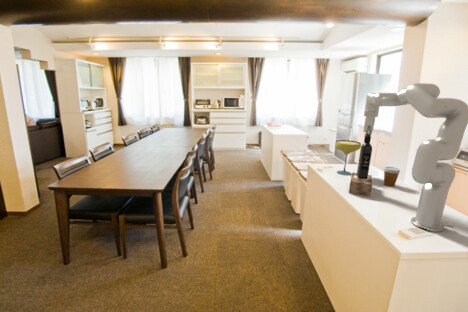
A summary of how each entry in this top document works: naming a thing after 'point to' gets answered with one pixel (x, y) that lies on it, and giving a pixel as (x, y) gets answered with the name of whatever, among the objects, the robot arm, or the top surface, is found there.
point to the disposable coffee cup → (390, 176)
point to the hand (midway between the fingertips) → (366, 141)
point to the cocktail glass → (347, 150)
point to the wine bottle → (364, 161)
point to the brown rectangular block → (360, 185)
